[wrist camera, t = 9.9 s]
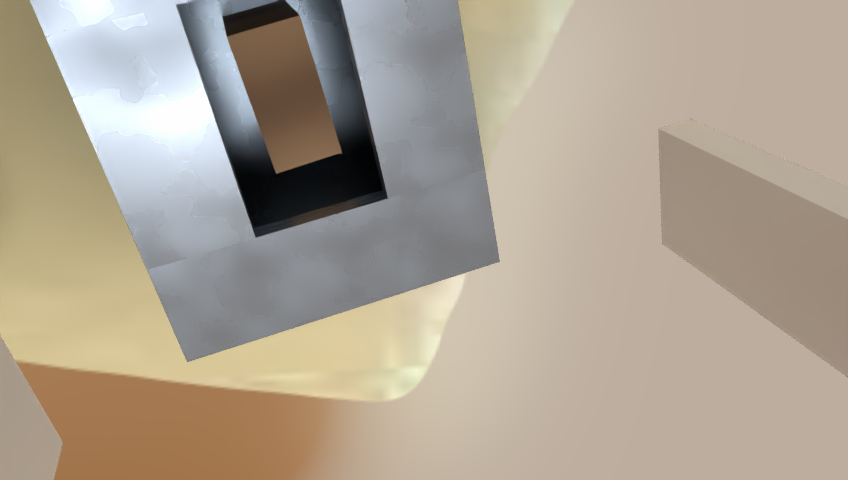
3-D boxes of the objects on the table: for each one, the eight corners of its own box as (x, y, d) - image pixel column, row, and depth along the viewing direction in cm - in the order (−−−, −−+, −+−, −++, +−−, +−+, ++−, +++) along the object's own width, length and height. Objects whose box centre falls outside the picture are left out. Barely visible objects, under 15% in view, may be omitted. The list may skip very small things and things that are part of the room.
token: (222, 17, 33) (226, 36, 28) (284, -1, 33) (299, 15, 28) (264, 135, 36) (276, 173, 30) (321, 117, 36) (342, 152, 31)
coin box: (43, -108, 30) (-22, -117, 21) (362, -173, 32) (424, -205, 23) (189, 258, 38) (187, 361, 29) (434, 186, 40) (499, 261, 31)
